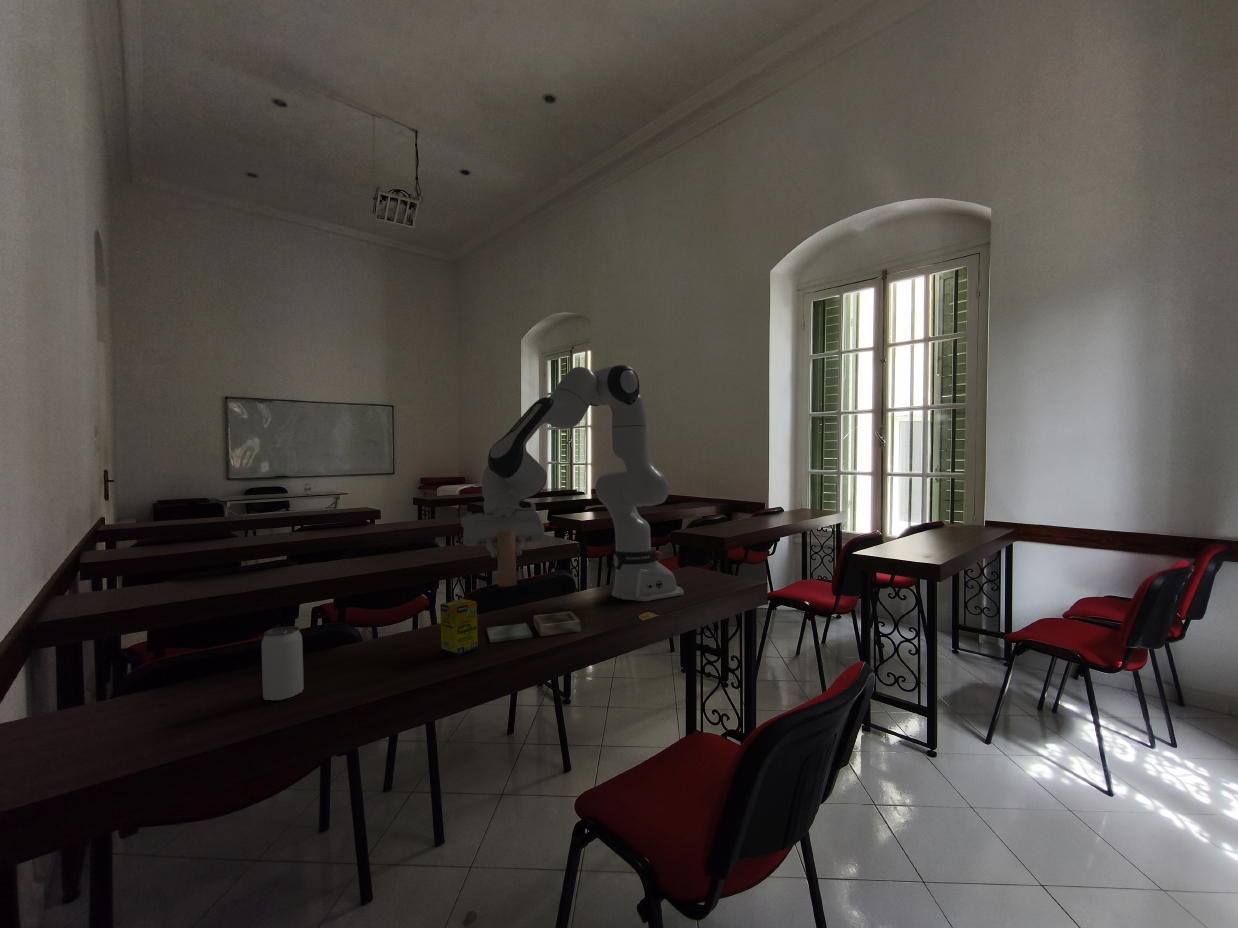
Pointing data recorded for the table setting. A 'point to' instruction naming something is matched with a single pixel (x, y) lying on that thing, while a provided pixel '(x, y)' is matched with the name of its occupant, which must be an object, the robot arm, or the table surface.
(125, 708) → the table surface
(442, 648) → the supplement box
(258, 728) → the table surface
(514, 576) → the terracotta peg
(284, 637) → the can
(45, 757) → the table surface
